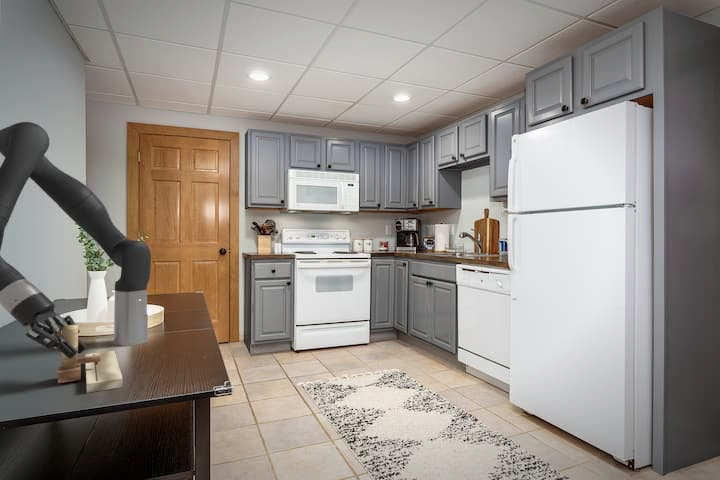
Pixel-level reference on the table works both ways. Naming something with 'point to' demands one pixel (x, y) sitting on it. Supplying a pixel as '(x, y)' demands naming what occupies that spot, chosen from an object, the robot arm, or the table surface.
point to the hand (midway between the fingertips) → (78, 352)
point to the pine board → (103, 372)
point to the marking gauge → (72, 366)
